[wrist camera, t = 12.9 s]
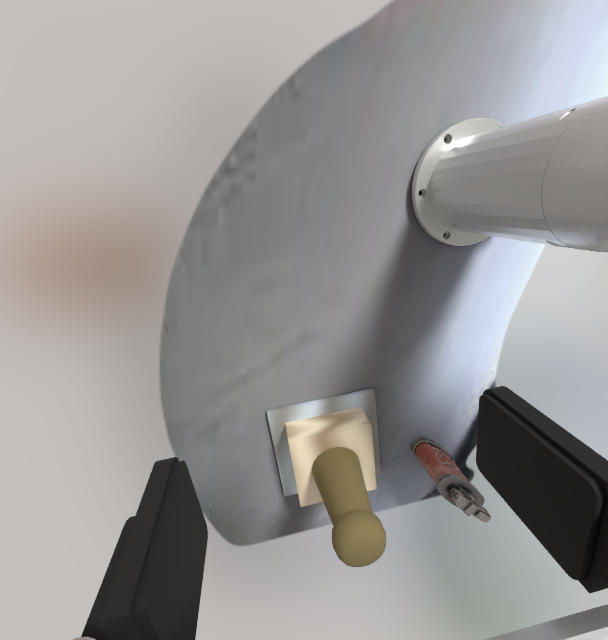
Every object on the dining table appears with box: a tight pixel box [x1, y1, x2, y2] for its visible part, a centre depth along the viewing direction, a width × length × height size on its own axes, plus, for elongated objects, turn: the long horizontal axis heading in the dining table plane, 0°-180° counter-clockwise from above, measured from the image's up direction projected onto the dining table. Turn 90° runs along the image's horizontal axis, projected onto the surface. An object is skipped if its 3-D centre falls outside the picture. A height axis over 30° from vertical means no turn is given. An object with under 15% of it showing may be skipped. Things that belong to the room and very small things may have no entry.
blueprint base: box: [267, 388, 381, 507], centre depth 43 cm, size 14×14×5 cm
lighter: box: [411, 437, 491, 522], centre depth 44 cm, size 8×3×10 cm, turn 51°
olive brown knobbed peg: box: [312, 447, 386, 567], centre depth 36 cm, size 6×6×11 cm
